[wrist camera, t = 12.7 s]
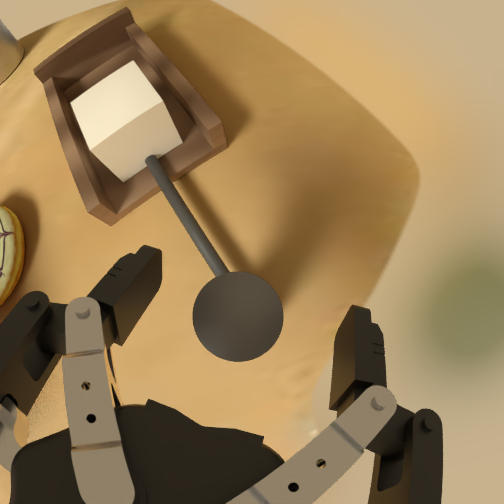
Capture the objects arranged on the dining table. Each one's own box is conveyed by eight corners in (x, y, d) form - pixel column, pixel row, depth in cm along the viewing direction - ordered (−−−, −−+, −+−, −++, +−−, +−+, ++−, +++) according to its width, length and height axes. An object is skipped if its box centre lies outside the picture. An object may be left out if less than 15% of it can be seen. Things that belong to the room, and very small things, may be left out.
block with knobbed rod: (101, 138, 25) (46, 75, 15) (154, 102, 26) (116, 27, 16) (228, 356, 21) (200, 392, 12) (298, 310, 22) (325, 311, 12)
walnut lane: (58, 97, 28) (33, 69, 22) (141, 41, 29) (126, 6, 23) (110, 226, 25) (74, 204, 19) (227, 147, 25) (218, 106, 20)
